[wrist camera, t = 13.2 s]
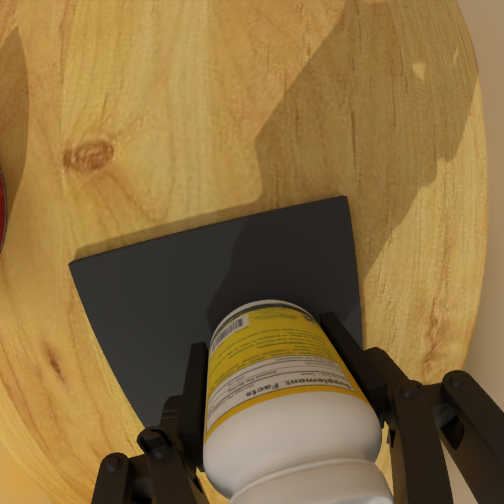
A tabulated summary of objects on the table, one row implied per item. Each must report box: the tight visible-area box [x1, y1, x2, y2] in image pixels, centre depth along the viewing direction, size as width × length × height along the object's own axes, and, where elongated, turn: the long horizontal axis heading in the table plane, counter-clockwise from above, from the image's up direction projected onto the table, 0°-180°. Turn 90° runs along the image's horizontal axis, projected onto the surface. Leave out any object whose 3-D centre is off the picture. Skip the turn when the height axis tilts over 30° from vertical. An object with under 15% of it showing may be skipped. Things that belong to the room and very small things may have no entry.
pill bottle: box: [203, 300, 394, 504], centre depth 10 cm, size 6×6×11 cm
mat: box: [68, 196, 363, 429], centre depth 17 cm, size 16×14×1 cm
